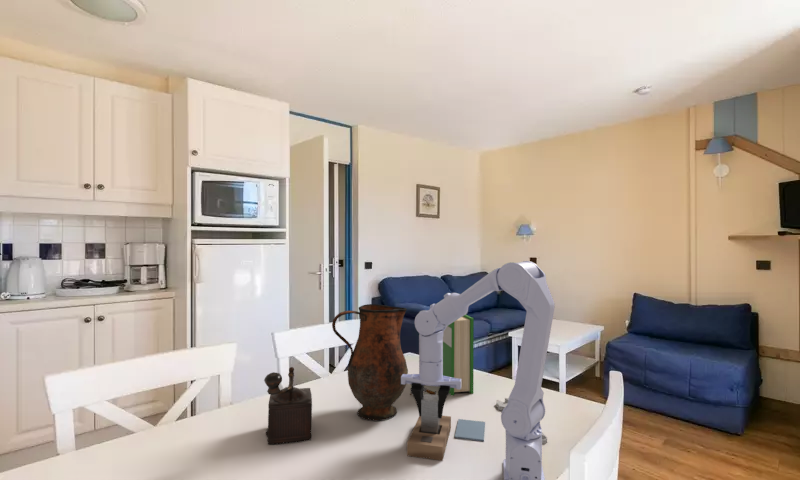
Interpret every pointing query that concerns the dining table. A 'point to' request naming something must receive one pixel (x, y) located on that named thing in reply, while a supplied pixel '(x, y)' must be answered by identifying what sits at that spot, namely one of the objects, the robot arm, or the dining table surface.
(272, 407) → the manual coffee grinder
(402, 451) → the dining table surface
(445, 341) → the hardback book
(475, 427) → the slate mat
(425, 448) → the brown flat rectangular block
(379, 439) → the dining table surface
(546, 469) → the dining table surface
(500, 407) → the adjustable wrench
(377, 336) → the pitcher
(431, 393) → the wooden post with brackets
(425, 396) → the steel peg
